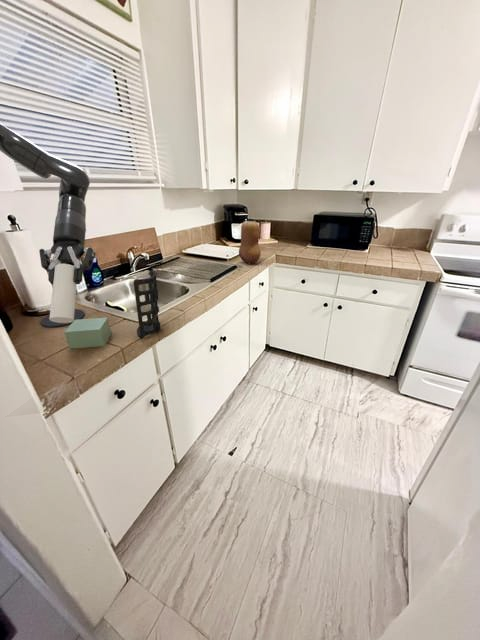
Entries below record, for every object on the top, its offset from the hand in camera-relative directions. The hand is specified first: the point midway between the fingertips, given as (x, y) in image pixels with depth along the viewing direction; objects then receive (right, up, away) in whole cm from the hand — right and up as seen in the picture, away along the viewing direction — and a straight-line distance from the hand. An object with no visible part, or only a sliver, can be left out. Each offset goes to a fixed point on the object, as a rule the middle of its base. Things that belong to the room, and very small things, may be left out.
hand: (65, 283), depth 70 cm
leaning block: (-1, -17, +14) cm, 22 cm away
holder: (+17, -14, +20) cm, 29 cm away
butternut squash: (+53, +26, +94) cm, 111 cm away
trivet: (-19, -9, +27) cm, 35 cm away
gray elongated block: (0, -9, +3) cm, 9 cm away
